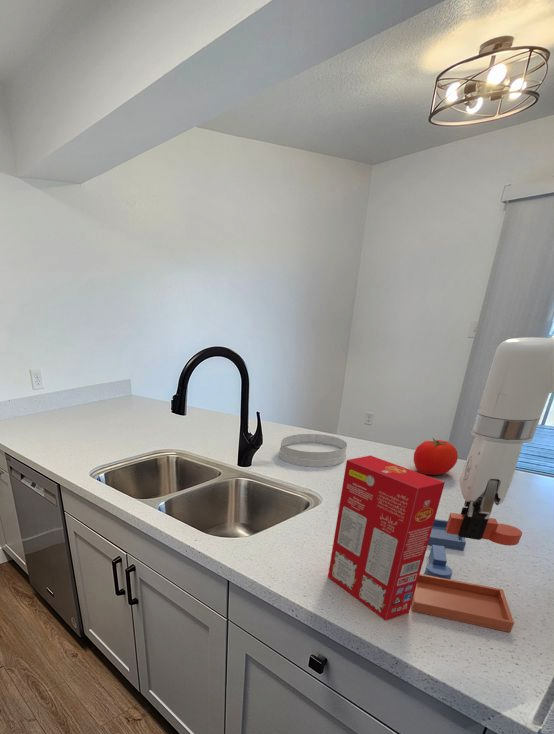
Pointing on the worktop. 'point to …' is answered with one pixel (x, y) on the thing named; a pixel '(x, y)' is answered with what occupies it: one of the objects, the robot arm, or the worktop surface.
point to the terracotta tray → (462, 602)
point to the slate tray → (445, 536)
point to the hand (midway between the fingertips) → (468, 533)
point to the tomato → (435, 457)
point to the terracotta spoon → (488, 530)
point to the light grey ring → (313, 450)
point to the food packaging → (383, 533)
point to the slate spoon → (438, 563)
